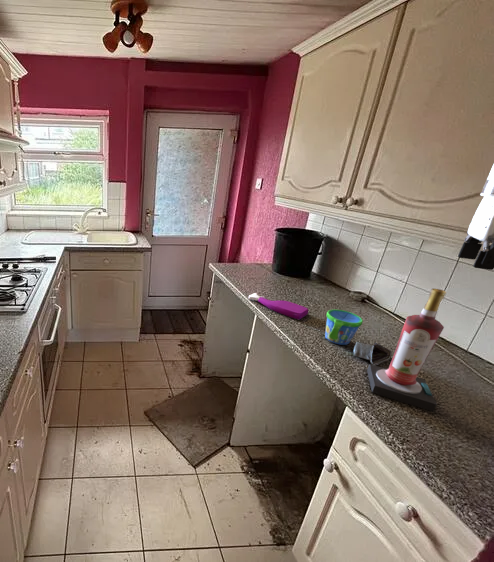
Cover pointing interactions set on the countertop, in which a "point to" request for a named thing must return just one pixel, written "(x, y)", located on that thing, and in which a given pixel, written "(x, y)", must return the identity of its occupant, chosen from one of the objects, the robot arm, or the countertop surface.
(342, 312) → the snack cup
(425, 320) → the liquor
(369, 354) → the grey open container
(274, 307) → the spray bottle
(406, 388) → the scale
